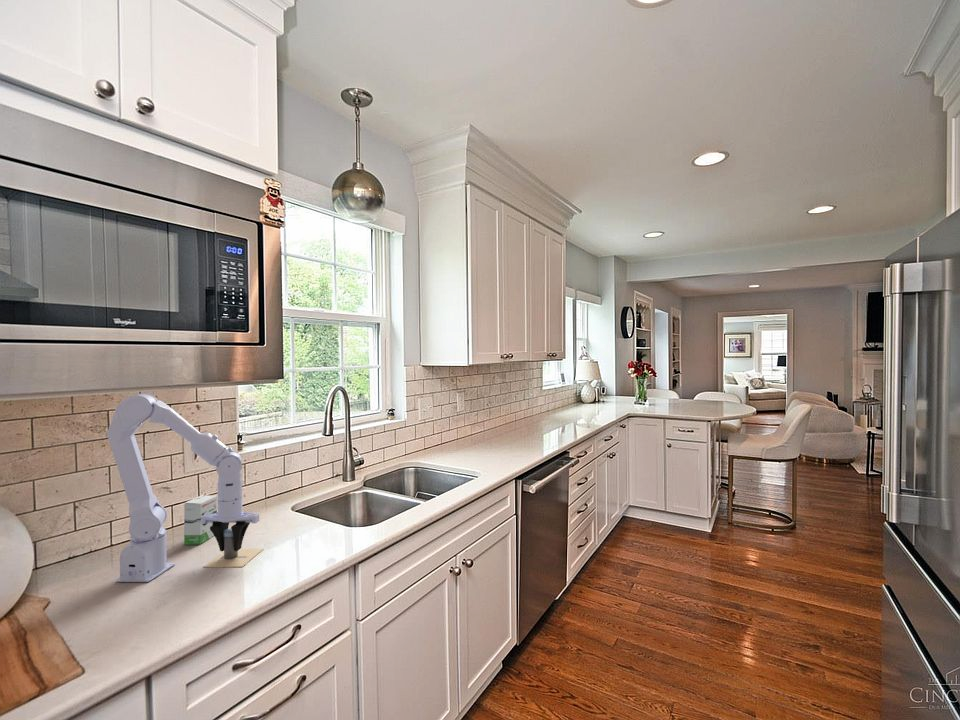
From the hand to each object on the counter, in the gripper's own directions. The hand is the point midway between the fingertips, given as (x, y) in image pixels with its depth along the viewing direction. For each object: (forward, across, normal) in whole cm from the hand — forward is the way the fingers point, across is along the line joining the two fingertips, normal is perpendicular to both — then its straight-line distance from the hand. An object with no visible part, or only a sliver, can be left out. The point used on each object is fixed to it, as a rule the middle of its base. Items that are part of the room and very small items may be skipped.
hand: (230, 549), depth 123 cm
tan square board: (+2, -1, 0) cm, 2 cm away
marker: (+2, 0, 0) cm, 2 cm away
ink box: (+2, +16, -13) cm, 21 cm away
